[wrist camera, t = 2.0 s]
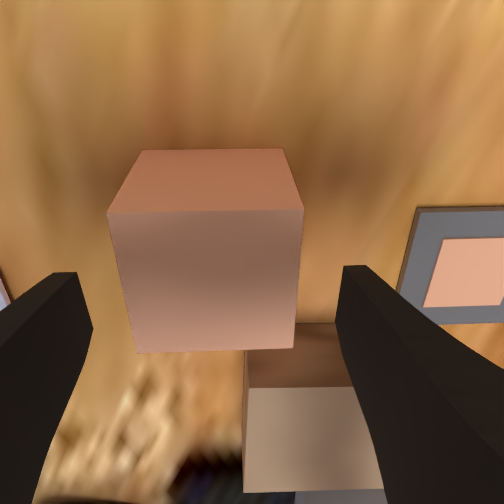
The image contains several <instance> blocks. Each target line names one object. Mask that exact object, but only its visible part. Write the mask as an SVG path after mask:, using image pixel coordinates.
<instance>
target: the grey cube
mask: <svg viewBox="0 0 504 504" xmlns="http://www.w3.org/2000/svg"><path fill="white" fill-rule="evenodd" d="M295 504H388V503H387V499H386V496H385V493H384V490H383V489H351V490H319V491H296V495H295Z"/></svg>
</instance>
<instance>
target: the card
mask: <svg viewBox="0 0 504 504" xmlns="http://www.w3.org/2000/svg"><path fill="white" fill-rule="evenodd" d="M396 292H397V293H399V294H400V295H401V296H402V297H403V298H404V299H406V300H407V301H408V302H409V303H410V304H412V305H413V306H414V307H415V308H416V309H418V310H419V311H420V312H421V313H423V314H424V315H425V316H426V317H428V318H429V319H430V320H431V321H433V322H434V323H435V324H437V325H445V324H475V323H504V206H495V207H447V208H417V209H416V213H415V217H414V221H413V225H412V229H411V233H410V237H409V241H408V245H407V249H406V253H405V257H404V261H403V265H402V269H401V273H400V277H399V281H398V285H397V289H396Z"/></svg>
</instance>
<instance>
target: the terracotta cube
mask: <svg viewBox="0 0 504 504" xmlns="http://www.w3.org/2000/svg"><path fill="white" fill-rule="evenodd" d="M106 216H107V220H108V225H109V229H110V234H111V239H112V243H113V248H114V252H115V257H116V261H117V266H118V270H119V275H120V279H121V284H122V288H123V293H124V297H125V302H126V306H127V311H128V315H129V320H130V324H131V329H132V334H133V338H134V343H135V347H136V352H137V354H140V353H169V352H197V351H225V350H253V349H282V348H293V342H294V329H295V317H296V305H297V293H298V280H299V268H300V256H301V244H302V231H303V219H304V207H303V204H302V201H301V198H300V196H299V193H298V190H297V187H296V185H295V182H294V179H293V176H292V173H291V171H290V168H289V165H288V162H287V160H286V157H285V154H284V151H283V148H255V149H183V150H142V151H141V153H140V155H139V157H138V158H137V160H136V162H135V164H134V165H133V167H132V169H131V170H130V172H129V174H128V176H127V177H126V179H125V181H124V183H123V184H122V186H121V188H120V189H119V191H118V193H117V195H116V196H115V198H114V200H113V202H112V203H111V205H110V207H109V209H108V210H107V212H106Z"/></svg>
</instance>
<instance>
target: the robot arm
mask: <svg viewBox="0 0 504 504" xmlns="http://www.w3.org/2000/svg"><path fill="white" fill-rule="evenodd" d="M335 324H336V329H337V334H338V339H339V343H340V348H341V352H342V356H343V359H344V362H345V365H346V367H347V370H348V373H349V376H350V379H351V382H352V385H353V387H354V390H355V393H356V396H357V398H358V401H359V404H360V407H361V410H362V412H363V415H364V418H365V421H366V424H367V426H368V430H369V433H370V436H371V439H372V442H373V446H374V450H375V454H376V458H377V462H378V466H379V470H380V474H381V478H382V482H383V486H384V490H385V495H386V499H387V503H388V504H504V369H502V368H500V367H499V366H497V365H495V364H494V363H492V362H491V361H489V360H488V359H486V358H484V357H483V356H481V355H480V354H478V353H477V352H475V351H474V350H472V349H470V348H469V347H467V346H466V345H464V344H463V343H462V342H460V341H459V340H457V339H456V338H454V337H453V336H452V335H450V334H449V333H448V332H446V331H445V330H444V329H442V328H441V327H439V326H438V325H437V324H435V323H434V322H433V321H431V320H430V319H429V318H428V317H426V316H425V315H424V314H423V313H421V312H420V311H419V310H418V309H416V308H415V307H414V306H413V305H412V304H410V303H409V302H408V301H407V300H406V299H404V298H403V297H402V296H401V295H400V294H399V293H397V292H396V291H395V290H394V289H393V288H392V287H391V286H389V285H388V284H387V283H386V282H385V281H384V280H383V279H381V278H380V277H379V276H378V275H377V274H376V273H375V272H373V271H372V270H371V269H370V268H369V267H367V266H366V265H352V266H344V267H343V273H342V280H341V286H340V293H339V299H338V306H337V312H336V318H335ZM92 332H93V326H92V323H91V319H90V316H89V312H88V309H87V305H86V302H85V299H84V295H83V292H82V288H81V285H80V282H79V278H78V275H77V272H58V273H52V274H51V275H49V276H48V277H46V278H45V279H43V280H42V281H40V282H39V283H37V284H36V285H35V286H33V287H32V288H31V289H29V290H28V291H27V292H25V293H24V294H23V295H21V296H20V297H19V298H17V299H16V300H14V301H13V302H12V303H11V302H10V299H9V297H8V295H7V292H6V290H5V288H4V285H3V283H2V280H1V278H0V504H31V503H32V500H33V497H34V493H35V490H36V487H37V484H38V480H39V477H40V474H41V471H42V467H43V464H44V461H45V458H46V455H47V452H48V450H49V447H50V444H51V442H52V439H53V437H54V435H55V432H56V430H57V427H58V425H59V423H60V420H61V418H62V416H63V413H64V411H65V408H66V406H67V404H68V401H69V399H70V397H71V394H72V392H73V390H74V387H75V385H76V382H77V380H78V377H79V375H80V373H81V370H82V368H83V365H84V362H85V359H86V355H87V352H88V348H89V344H90V340H91V336H92Z"/></svg>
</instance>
